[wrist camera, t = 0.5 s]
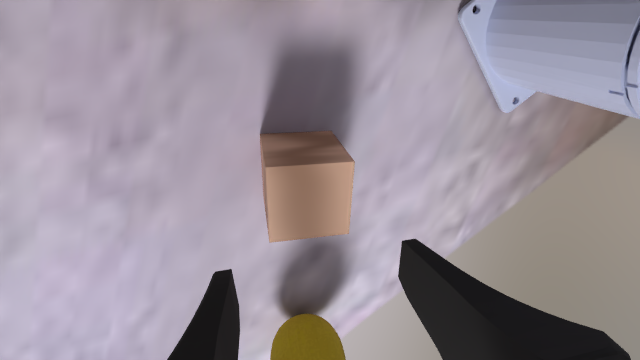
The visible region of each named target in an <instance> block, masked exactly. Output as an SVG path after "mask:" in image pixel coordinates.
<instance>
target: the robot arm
mask: <svg viewBox="0 0 640 360" xmlns="http://www.w3.org/2000/svg"><path fill="white" fill-rule="evenodd" d="M475 5H476V8H477V9H476V12H475V13H473V11H472V10H473V7H474V6H475ZM458 20H459V23H460V25H461V27H462V29H463V31H464V33H465V36H466V38H467V40H468V42H469V44H470V46H471V48H472V51H473V53H474V55H475V57H476V59H477V61H478V63H479V65H480V68H481V70H482V72H483V74H484V76H485V78H486V80H487V83H488V85H489V87H490V89H491V91H492V93H493V95H494V97H495V100H496V102H497V104H498V106H499V108H500V110H501V111H503V112H506V113H508V112H510V111H512V110H513V109H515V108H516V107H517V106H518V105H520V104H521V103H522V102H524V101H525V100H526V99H527V98H529V97H530V96H531V95H533V94H534V93H535V92H536V91H538V92H542V93H546V94H549V95H553V96H557V97H561V98H564V99H568V100H572V101H575V102H579V103H583V104H586V105H590V106H594V107H597V108H601V109H605V110H608V111H612V112H616V113H620V114H623V115H627V116H631V117H634V118H638V119H640V0H471V1H470V2H469V3H467V4H466V5H465V6H464V7H463V8H462V9H461V10H460V12H459V14H458ZM514 98H515V100H514V102H513V103H512V101H513V99H514ZM398 277H399V279H400V282H401V284H402V287H403V289H404V291H405V294H406V296H407V298H408V300H409V301H410V303H411V305H412V307H413V308H414V310H415V312H416V313H417V315H418V317H419V318H420V320H421V322H422V324H423V325H424V327H425V329H426V330H427V332H428V333H429V335H430V337H431V339H432V340H433V342H434V344H435V345H436V347H437V349H438V351H439V353H440V355H441V357H442V359H443V360H631V359H630V356H629V354H628V353H627V352H626V351H624V349H622V348H621V347H620V346H619V345H618V344H617V343H615V342H614V341H613V340H612V339H611V338H610V337H609V336H608V335H607V334H605V333H604V332H603V331H600V330H596V329H593V328H590V327H587V326H583V325H580V324H577V323H574V322H570V321H567V320H565V319H562V318H559V317H556V316H554V315H551V314H548V313H545V312H543V311H541V310H538V309H536V308H533V307H531V306H529V305H526V304H524V303H522V302H519V301H517V300H515V299H513V298H511V297H509V296H506V295H504V294H503V293H500V292H499V291H497V290H495V289H493V288H491V287H489V286H487V285H485V284H484V283H482V282H480V281H478V280H477V279H475V278H473V277H472V276H470V275H468V274H467V273H465V272H463V271H462V270H460V269H459V268H457V267H456V266H454V265H453V264H451V263H450V262H448V261H447V260H445V259H444V258H442V257H441V256H440V255H438V254H437V253H435V252H434V251H432V250H431V249H430V248H428V247H427V246H425V245H424V244H422V243H421V242H419V241H418V240H416V239H411V240H405V241H402V247H401V256H400V265H399V274H398ZM239 336H240V319H239V303H238V299H237V294H236V289H235V284H234V279H233V274H232V270H231V269H229V270H223V271H217V272H215V273H214V274H213V276H212V279H211V281H210V284H209V286H208V288H207V291H206V293H205V295H204V297H203V299H202V301H201V303H200V305H199V307H198V309H197V311H196V313H195V315H194V317H193V319H192V321H191V322H190V324H189V326H188V327H187V329H186V331H185V332H184V334H183V336H182V338H181V339H180V341H179V342H178V344H177V346H176V347H175V349H174V350H173V352H172V353H171V355H170V356H169V357H168V359H167V360H238V349H239Z"/></svg>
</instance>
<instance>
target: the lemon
mask: <svg viewBox="0 0 640 360" xmlns="http://www.w3.org/2000/svg"><path fill="white" fill-rule="evenodd" d="M270 360H346V359H345V354H344V350H343V346H342V343H341V340H340V338H339V336H338V334H337V333H336V331H335V330H334V328H333V327H332V326H331V324H330V323H329V322H327V321H326V320H325V319H323V318H322V317H320V316H317V315H314V314H300V315H296V316H294V317H292V318H290V319H289V320H287V321H286V322H285V323H284V324H283V325H282V326H281V327H280V328H279V330H278V332H277V334H276V336H275V338H274V340H273V344H272V349H271V358H270Z"/></svg>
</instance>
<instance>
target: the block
mask: <svg viewBox="0 0 640 360" xmlns="http://www.w3.org/2000/svg"><path fill="white" fill-rule="evenodd" d="M260 144H261V161H262V178H263V195H264V204H265V212H266V219H267V227H268V234H269V242H279V241H288V240H297V239H306V238H315V237H324V236H333V235H341V234H349V225H350V213H351V201H352V189H353V176H354V164H355V161H354V160H353V159H352V157H351V156H350V155H349V154H348V152H347V151H346V150H345V148H344V147H343V146H342V144H341V143H340V142H339V140H338V139H337V138H336V137H335V135H334V134H333V133H332V131H316V132H294V133H271V134H260Z"/></svg>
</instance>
